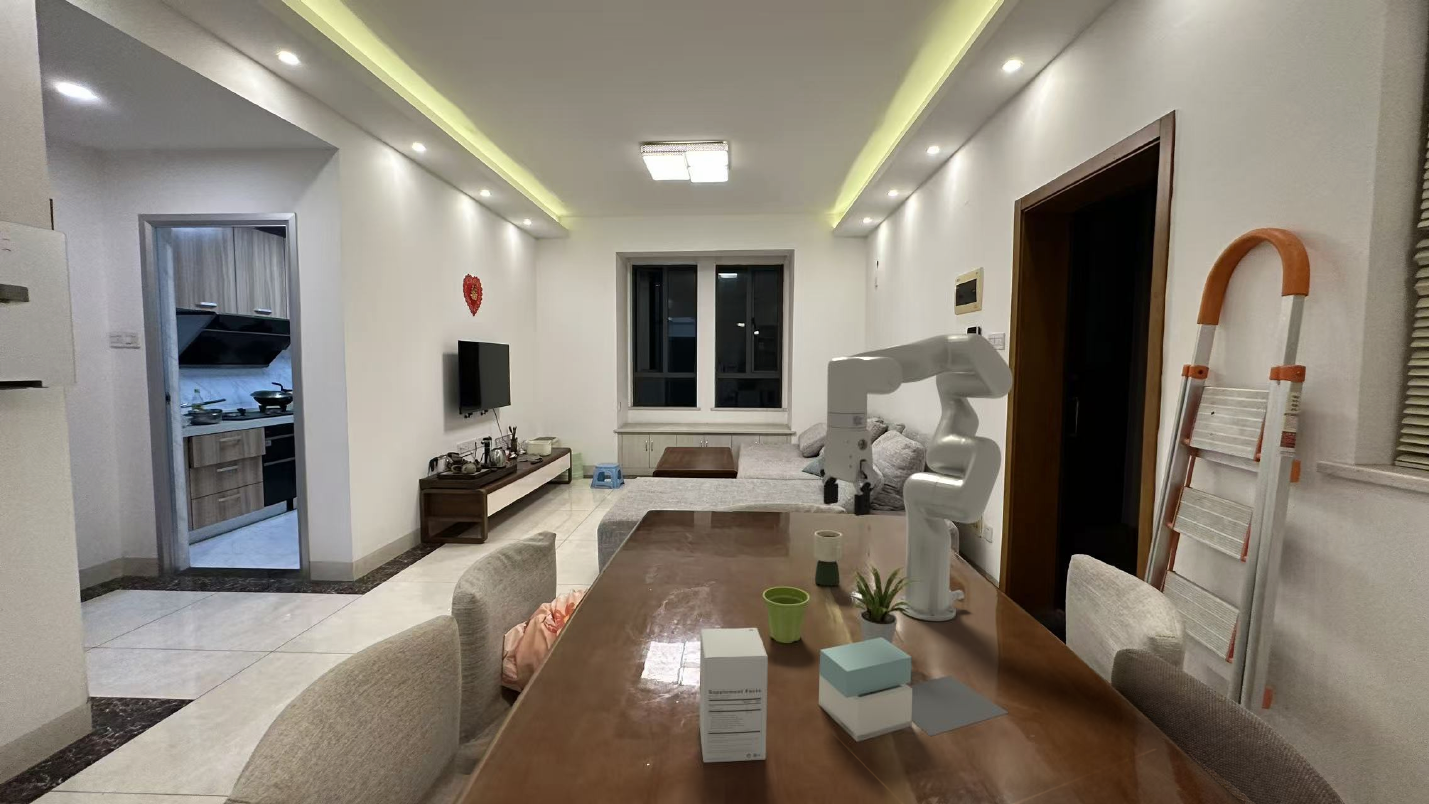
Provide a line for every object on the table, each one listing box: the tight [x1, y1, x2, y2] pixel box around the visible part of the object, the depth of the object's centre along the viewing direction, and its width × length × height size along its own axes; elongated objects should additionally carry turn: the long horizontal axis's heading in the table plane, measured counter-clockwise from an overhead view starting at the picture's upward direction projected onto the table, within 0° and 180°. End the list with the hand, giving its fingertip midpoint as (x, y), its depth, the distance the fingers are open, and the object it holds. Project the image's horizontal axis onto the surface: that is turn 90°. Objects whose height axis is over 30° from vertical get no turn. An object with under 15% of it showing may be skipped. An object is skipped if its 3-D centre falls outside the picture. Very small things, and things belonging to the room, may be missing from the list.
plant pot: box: [762, 586, 810, 644], centre depth 115 cm, size 9×9×9 cm
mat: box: [908, 675, 1009, 737], centre depth 92 cm, size 16×12×1 cm
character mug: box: [813, 530, 843, 587], centre depth 145 cm, size 11×7×13 cm, turn 20°
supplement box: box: [699, 627, 769, 763], centre depth 82 cm, size 9×9×15 cm
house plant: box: [850, 563, 924, 644], centre depth 111 cm, size 14×14×16 cm
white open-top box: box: [818, 674, 912, 742], centre depth 89 cm, size 10×10×6 cm
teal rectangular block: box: [819, 637, 912, 698], centre depth 88 cm, size 12×7×4 cm, turn 113°
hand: (845, 508), depth 110 cm, fingers open, 9 cm apart
